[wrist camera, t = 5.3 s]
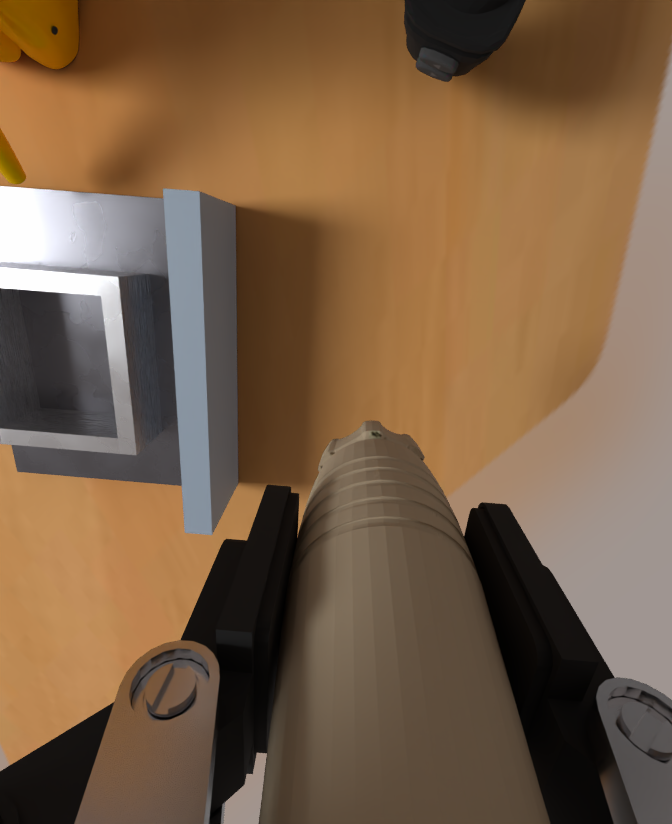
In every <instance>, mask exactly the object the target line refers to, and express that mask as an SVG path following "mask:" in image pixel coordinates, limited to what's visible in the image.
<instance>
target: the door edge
mask: <svg viewBox="0 0 672 824" xmlns="http://www.w3.org/2000/svg"><path fill="white" fill-rule="evenodd" d="M163 197H164V213H165V229H166V244H167V260H168V276H169V291H170V307H171V323H172V338H173V354H174V370H175V386H176V401H177V417H178V433H179V448H180V464H181V480H182V495H183V511H184V527H185V533H195V534H206V535H212V534H213V532H214V530H215V528H216V526H217V524H218V522H219V520H220V518H221V516H222V514H223V512H224V510H225V508H226V506H227V504H228V502H229V500H230V498H231V496H232V495H233V493H234V491H235V489H236V487H237V485H238V395H237V292H236V206H235V205H233V204H230V203H228V202H225V201H223V200H220V199H217V198H215V197H212V196H210V195H207V194H205V193H202V192H200V191H189V190H175V189H163Z"/></svg>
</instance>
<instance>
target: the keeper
mask: <svg viewBox="0 0 672 824" xmlns="http://www.w3.org/2000/svg"><path fill="white" fill-rule="evenodd" d="M0 444H9V445H12V449H13V453H14V458H15V463H16V467H17V472H28V473H39V474H51V475H63V476H74V477H86V478H98V479H109V480H121V481H133V482H144V483H156V484H168V485H179V486H182V480H181V464H180V448H179V433H178V417H177V401H176V386H175V370H174V354H173V338H172V323H171V307H170V291H169V276H168V260H167V244H166V229H165V213H164V199H162V198H149V197H136V196H123V195H110V194H97V193H84V192H71V191H58V190H45V189H32V188H19V187H6V186H0Z"/></svg>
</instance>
